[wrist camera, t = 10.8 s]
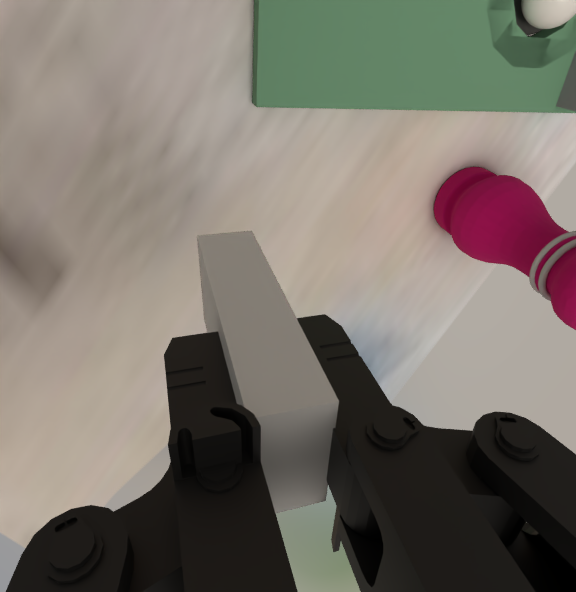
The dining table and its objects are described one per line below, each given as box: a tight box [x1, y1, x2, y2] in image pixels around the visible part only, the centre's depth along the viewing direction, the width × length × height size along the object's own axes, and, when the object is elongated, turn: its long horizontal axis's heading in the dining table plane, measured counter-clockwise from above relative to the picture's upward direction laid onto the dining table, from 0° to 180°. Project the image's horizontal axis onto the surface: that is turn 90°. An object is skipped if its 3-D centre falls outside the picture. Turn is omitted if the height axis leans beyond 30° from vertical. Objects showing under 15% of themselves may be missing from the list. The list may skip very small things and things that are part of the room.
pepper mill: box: [434, 167, 576, 330], centre depth 34 cm, size 7×7×20 cm
